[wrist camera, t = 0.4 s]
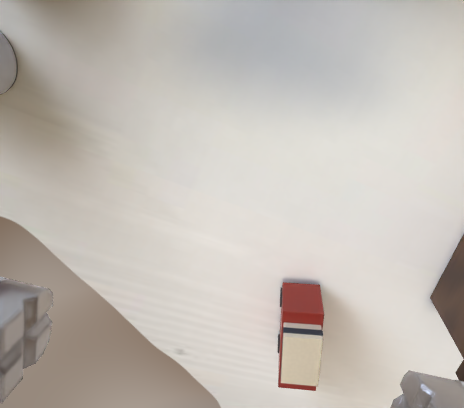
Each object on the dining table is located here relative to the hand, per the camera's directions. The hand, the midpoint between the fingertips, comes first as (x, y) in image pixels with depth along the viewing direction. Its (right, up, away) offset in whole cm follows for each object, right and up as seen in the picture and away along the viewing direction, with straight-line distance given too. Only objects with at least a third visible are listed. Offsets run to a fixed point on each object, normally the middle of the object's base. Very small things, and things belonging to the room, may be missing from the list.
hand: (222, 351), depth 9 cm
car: (+10, -13, +47) cm, 50 cm away
